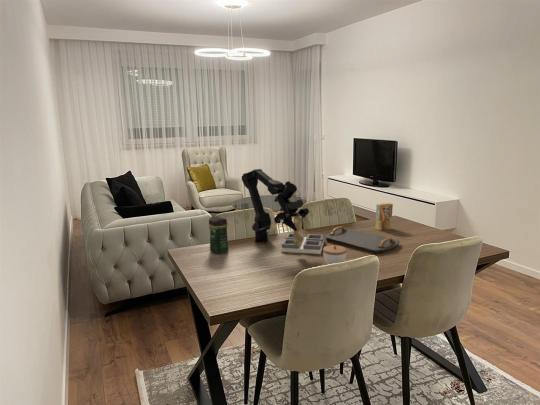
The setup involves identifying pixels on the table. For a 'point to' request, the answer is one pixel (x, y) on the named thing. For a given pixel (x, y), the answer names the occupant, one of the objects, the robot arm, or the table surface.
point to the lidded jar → (334, 254)
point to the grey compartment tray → (303, 244)
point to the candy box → (383, 216)
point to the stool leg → (298, 230)
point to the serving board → (362, 239)
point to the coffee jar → (218, 235)
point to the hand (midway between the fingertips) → (299, 229)
